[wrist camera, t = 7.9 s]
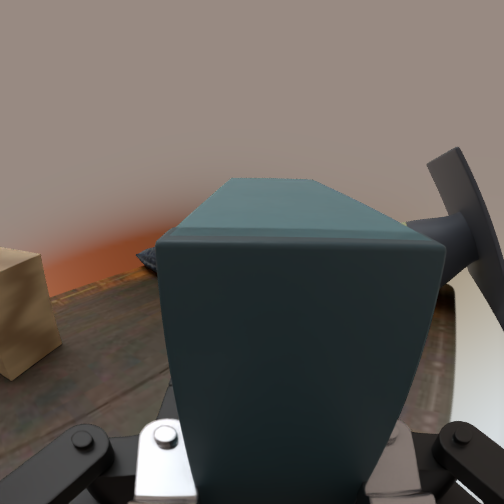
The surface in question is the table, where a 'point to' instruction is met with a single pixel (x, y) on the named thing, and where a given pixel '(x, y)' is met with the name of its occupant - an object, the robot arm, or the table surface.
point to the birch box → (24, 313)
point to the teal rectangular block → (291, 337)
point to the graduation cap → (465, 229)
